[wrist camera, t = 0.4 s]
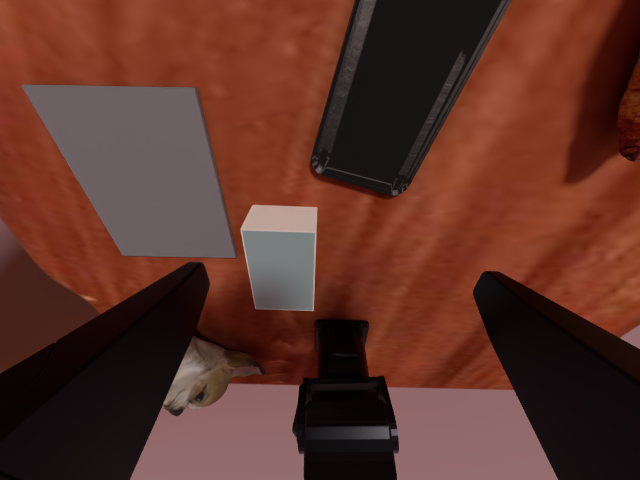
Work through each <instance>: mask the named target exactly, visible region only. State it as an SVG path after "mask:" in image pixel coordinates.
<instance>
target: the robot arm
mask: <svg viewBox="0 0 640 480" xmlns="http://www.w3.org/2000/svg"><path fill="white" fill-rule="evenodd" d="M209 286H210V282H209V278H208V275H207V272H206V268H205V265H204V264H203V263H202V262H188V263H186V264H185V265H183V266H181V267H180V268H178V269H176V270H175V271H173V272H171V273H170V274H168V275H166V276H165V277H163V278H161V279H159V280H158V281H156V282H154V283H153V284H151V285H149V286H148V287H146V288H144V289H143V290H141V291H139V292H138V293H136V294H134V295H133V296H131V297H129V298H127V299H126V300H124V301H122V302H121V303H119V304H117V305H116V306H114V307H112V308H111V309H109V310H107V311H106V312H104V313H102V314H101V315H99V316H97V317H96V318H94V319H92V320H90V321H89V322H87V323H85V324H84V325H82V326H80V327H79V328H77V329H75V330H74V331H72V332H70V333H69V334H67V335H65V336H63V337H62V338H60V339H58V340H57V341H56V343H52V344H50V345H48V346H47V347H45V348H43V349H42V350H40V351H38V352H37V353H35V354H33V355H31V356H30V357H28V358H26V359H25V360H23V361H21V362H19V363H18V364H16V365H14V366H12V367H11V368H9V369H8V370H6V371H4V372H2V373H1V374H0V480H130V478H131V476H132V473H133V471H134V469H135V467H136V464H137V462H138V460H139V457H140V455H141V453H142V451H143V449H144V446H145V444H146V442H147V439H148V437H149V435H150V433H151V431H152V428H153V426H154V424H155V421H156V419H157V417H158V415H159V412H160V410H161V408H162V406H163V403H164V401H165V399H166V397H167V394H168V392H169V390H170V388H171V385H172V383H173V381H174V379H175V376H176V374H177V372H178V370H179V367H180V365H181V363H182V361H183V358H184V356H185V354H186V351H187V349H188V347H189V345H190V342H191V340H192V338H193V335H194V333H195V331H196V328H197V325H198V322H199V319H200V315H201V312H202V309H203V306H204V303H205V300H206V296H207V293H208V290H209ZM473 295H474V299H475V301H476V304H477V307H478V310H479V312H480V315H481V318H482V320H483V323H484V326H485V329H486V331H487V334H488V336H489V339H490V341H491V343H492V346H493V348H494V350H495V352H496V354H497V356H498V358H499V360H500V362H501V364H502V366H503V368H504V370H505V372H506V374H507V376H508V378H509V380H510V382H511V384H512V386H513V389H514V391H515V393H516V395H517V397H518V399H519V401H520V403H521V405H522V407H523V409H524V411H525V413H526V415H527V417H528V419H529V421H530V423H531V425H532V427H533V429H534V431H535V433H536V435H537V438H538V440H539V442H540V444H541V446H542V448H543V450H544V452H545V454H546V456H547V458H548V460H549V462H550V464H551V466H552V468H553V470H554V472H555V474H556V476H557V478H558V480H640V349H638V348H636V347H635V346H633V345H631V344H629V343H628V342H625V341H624V340H622V339H620V338H618V337H617V336H615V335H613V334H611V333H609V332H608V331H606V330H604V329H602V328H600V327H599V326H597V325H595V324H593V323H591V322H589V321H588V320H586V319H584V318H582V317H580V316H579V315H577V314H575V313H573V312H571V311H569V310H568V309H566V308H564V307H562V306H560V305H559V304H557V303H555V302H553V301H551V300H550V299H548V298H546V297H544V296H542V295H540V294H539V293H537V292H535V291H533V290H531V289H530V288H528V287H526V286H524V285H522V284H520V283H519V282H517V281H515V280H513V279H511V278H510V277H508V276H506V275H504V274H502V273H500V272H497V271H485V272H483V273H482V275H481V276H480V278H479V280H478V282H477V284H476V286H475V288H474V290H473ZM368 329H369V323H368V322H367V321H346V320H317V321H316V322H315V351H316V352H318V378H303V384H302V385H300V386H299V397H298V405H297V409H296V414H295V418H294V423H293V429H292V430H293V433H294V435H295V436H296V437H297V444H298V450H299V454H304V480H397V473H396V467H395V460H394V453H398V451H399V441H398V432H397V426H396V420H395V416H394V412H393V408H392V405H391V400H390V397H389V393H388V389H387V385H386V382H385V378H384V376H379V377H369V373H368V366H367V360H366V353H365V343H366V338H367V333H368Z"/></svg>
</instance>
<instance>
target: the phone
mask: <svg viewBox="0 0 640 480" xmlns="http://www.w3.org/2000/svg"><path fill="white" fill-rule="evenodd" d="M511 1H512V0H355V3H354V7H353V10H352V14H351V17H350V21H349V24H348V28H347V32H346V35H345V39H344V42H343V46H342V49H341V53H340V57H339V60H338V64H337V67H336V71H335V74H334V78H333V82H332V85H331V89H330V92H329V96H328V99H327V103H326V107H325V110H324V114H323V117H322V121H321V124H320V128H319V132H318V135H317V139H316V142H315V146H314V150H313V154H312V165H313V167H314V169H315V170H316V171H317V172H318V173H319V174H321V175H323V176H327V177H330V178H333V179H337V180H340V181H343V182H347V183H350V184H354V185H357V186H360V187H364V188H367V189H370V190H374V191H377V192H380V193H384V194H387V195H399V194H401V193H403V192H404V191H405V190H406V189H407V188H408V187H409V185H410V183H411V182H412V180H413V178H414V176H415V174H416V173H417V171H418V169H419V167H420V165H421V164H422V162H423V160H424V158H425V156H426V154H427V153H428V151H429V149H430V147H431V145H432V144H433V142H434V140H435V138H436V136H437V135H438V133H439V131H440V129H441V127H442V126H443V124H444V122H445V120H446V118H447V116H448V115H449V113H450V111H451V109H452V107H453V106H454V104H455V102H456V100H457V98H458V97H459V95H460V93H461V91H462V89H463V88H464V86H465V84H466V82H467V80H468V78H469V77H470V75H471V73H472V71H473V69H474V68H475V66H476V64H477V62H478V60H479V59H480V57H481V55H482V53H483V51H484V50H485V48H486V46H487V44H488V42H489V41H490V39H491V37H492V35H493V33H494V31H495V30H496V28H497V26H498V24H499V22H500V21H501V19H502V17H503V15H504V13H505V12H506V10H507V8H508V6H509V4H510V3H511Z"/></svg>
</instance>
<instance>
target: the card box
mask: <svg viewBox="0 0 640 480" xmlns="http://www.w3.org/2000/svg"><path fill="white" fill-rule="evenodd" d="M316 230H317V207H295V206H268V205H252V207H251V209H250V211H249V213H248V215H247V217H246V219H245V221H244V223H243V225H242V227H241V235H242V240H243V246H244V251H245V256H246V262H247V267H248V272H249V278H250V283H251V289H252V294H253V299H254V305H255V309H268V310H299V311H314V289H315V260H316Z"/></svg>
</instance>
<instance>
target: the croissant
mask: <svg viewBox="0 0 640 480" xmlns="http://www.w3.org/2000/svg"><path fill="white" fill-rule="evenodd" d="M617 130H618V142H619V152H620V154H621V155H622V156H623V157H625V158H627V159H628V160H629V161H634V162H640V53H639V58H638V62H637V64H636V66H635V68H634V70H633V73H632V76H631V78H630V81H629V86H628V89H627V90H626V92H625V93H624V95H623V98H622V100H621V103H620V106H619V109H618V128H617Z"/></svg>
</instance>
